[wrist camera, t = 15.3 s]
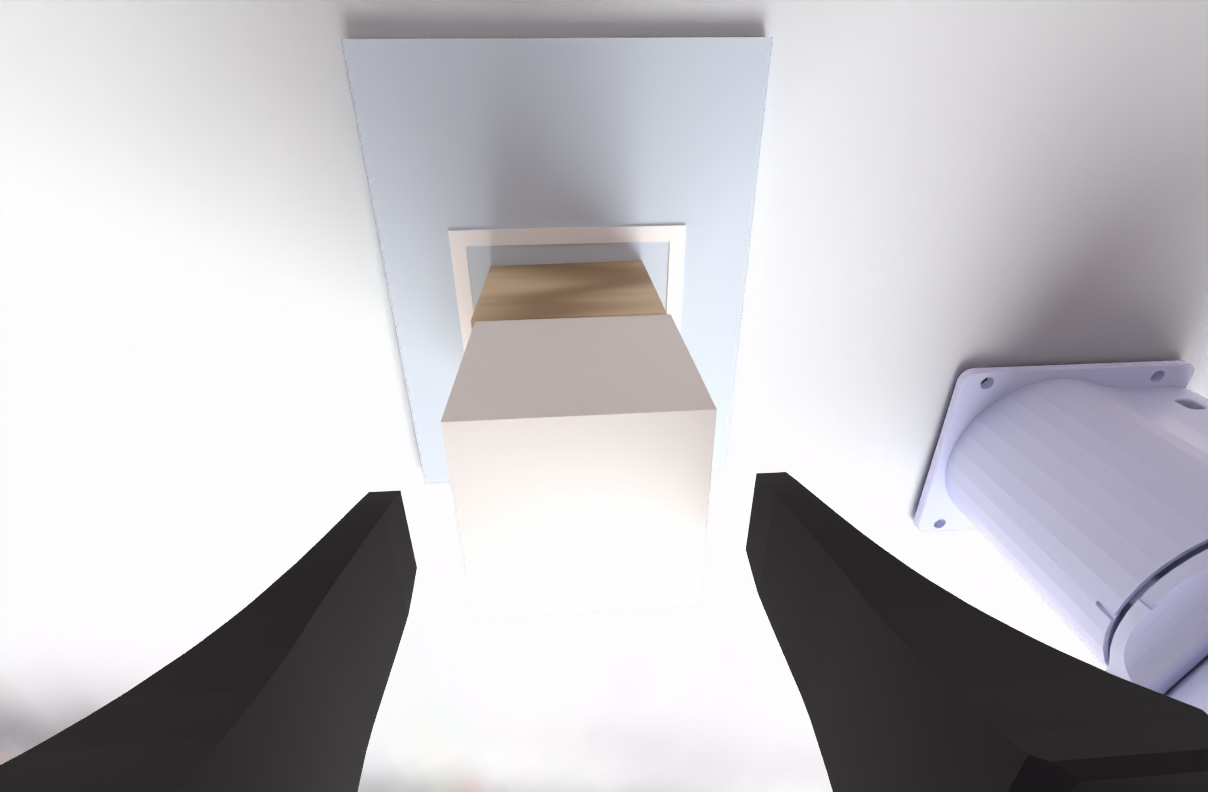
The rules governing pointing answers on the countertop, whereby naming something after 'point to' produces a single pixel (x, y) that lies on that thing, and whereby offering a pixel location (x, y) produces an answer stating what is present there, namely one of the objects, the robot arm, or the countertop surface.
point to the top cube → (579, 465)
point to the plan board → (559, 184)
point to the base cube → (567, 291)
